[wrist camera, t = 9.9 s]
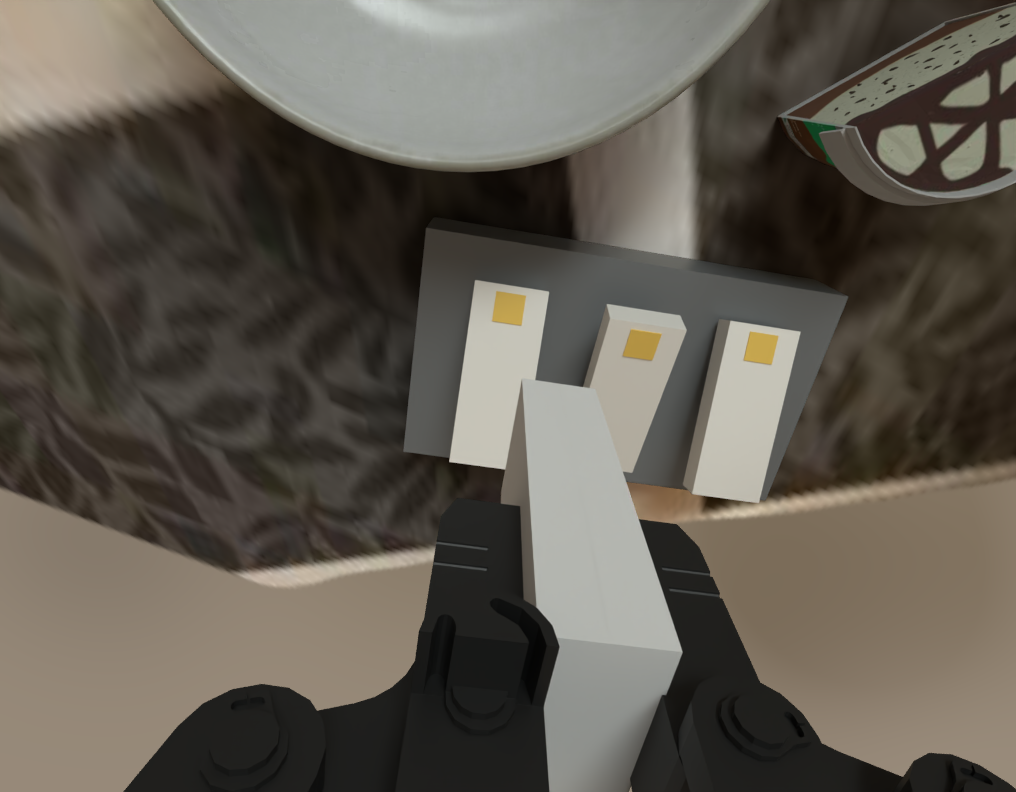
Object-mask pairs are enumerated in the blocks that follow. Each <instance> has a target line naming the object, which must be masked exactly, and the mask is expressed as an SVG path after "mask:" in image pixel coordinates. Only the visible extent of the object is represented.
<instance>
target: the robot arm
mask: <svg viewBox="0 0 1016 792" xmlns="http://www.w3.org/2000/svg"><path fill="white" fill-rule="evenodd" d="M719 594H720V593H719V590H718V588H717V586H716V584H715V581H714V579H713V577H710V571H709V568H708V566H707V564H706V562H705V559H704V557H703V555H702V553H701V550H700V548H699V547H698V546H697V545H696V544H695V542H694V541H693V540H692V539H690V537H689V536H688V535H687V534H686V533H685V532H684V531H683V530H682V529H681V528H680V527H679V526H678V525H677V524H670V523H662V522H655V521H647V520H640V519H638V516H637V513H636V510H635V507H634V504H633V501H632V498H631V495H630V492H629V489H628V486H627V483H626V480H625V477H624V474H623V471H622V468H621V465H620V462H619V459H618V456H617V453H616V450H615V447H614V444H613V441H612V438H611V435H610V432H609V429H608V426H607V423H606V420H605V417H604V414H603V411H602V408H601V405H600V402H599V399H598V396H597V393H596V390H595V389H592V388H586V387H579V386H572V385H565V384H558V383H551V382H544V381H538V380H531V379H524V378H522V381H521V387H520V392H519V398H518V403H517V408H516V414H515V419H514V425H513V430H512V436H511V441H510V446H509V452H508V457H507V463H506V468H505V474H504V479H503V484H502V490H501V504H500V503H493V502H485V501H477V500H470V499H462V498H457V499H456V500H455V501H454V502H453V503H452V504H451V506H450V507H449V508H448V509H447V510H446V511H445V512H444V513H443V514H442V516H441V519H440V525H439V531H438V537H437V544H436V549H435V556H434V562H433V568H432V575H431V580H430V586H429V593H428V599H427V605H426V611H425V618H424V621H423V623H422V626H421V628H420V630H419V635H418V643H417V650H416V658H415V662H414V663H413V665H412V666H411V668H410V669H409V671H408V673H407V674H406V675H405V676H404V677H403V678H402V679H401V680H400V681H399V682H398V683H396V684H395V685H394V686H393V687H392V688H390V689H388V690H387V691H385V692H383V693H381V694H379V695H378V696H376V697H374V698H371V699H367V700H364V701H361V702H357V703H354V704H349V705H344V706H339V707H334V708H329V709H324V710H319V711H317V710H316V709H315V707H314V706H313V704H312V703H311V701H310V700H308V699H307V698H305V697H303V696H301V695H300V694H298V693H296V692H295V691H293V690H291V689H290V688H286V687H279V686H272V685H265V684H259V685H254V686H248V687H243V688H237V689H232V690H230V691H228V692H226V693H224V694H222V695H220V696H218V697H216V698H214V699H212V700H210V701H207V702H205V703H203V704H202V705H201V706H200V707H199V708H198V709H196V711H194V712H193V713H192V714H191V715H190V716H189V717H188V718H187V719H185V720H184V721H183V722H182V723H181V724H180V725H179V726H178V727H177V728H176V729H175V730H174V731H173V733H172V734H171V735H170V736H169V737H168V739H167V740H166V741H165V742H164V744H163V745H162V746H161V747H160V748H159V750H158V751H157V752H156V753H155V754H154V756H153V757H152V758H151V759H150V760H149V762H148V763H147V764H146V765H145V766H144V768H143V769H142V770H141V771H140V772H139V774H138V775H137V776H136V777H135V778H134V780H133V781H132V782H131V783H130V784H129V786H128V787H127V788H126V789H125V790H124V792H629V790H630V787H632V792H1016V789H1015V788H1014V787H1013V786H1011V785H1010V784H1009V783H1007V782H1005V781H1004V780H1002V779H1001V778H999V777H998V776H996V775H994V774H993V773H991V772H990V771H988V770H986V769H985V768H983V767H982V766H980V765H978V764H975V763H972V762H970V761H967V760H965V759H962V758H959V757H957V756H954V755H951V754H936V753H928V754H926V755H924V756H923V757H921V758H919V759H917V760H915V761H914V762H913V763H912V765H911V766H910V768H909V769H908V771H907V772H906V774H905V775H904V777H901V776H899V775H896V774H894V773H891V772H889V771H886V770H884V769H881V768H879V767H876V766H873V765H871V764H869V763H866V762H864V761H861V760H859V759H856V758H854V757H851V756H848V755H846V754H843V753H841V752H838V751H836V750H834V749H832V748H830V747H828V746H826V745H824V744H822V743H821V741H820V739H819V737H818V735H817V734H816V733H815V731H814V730H813V728H812V727H811V726H810V724H809V722H808V721H807V719H806V718H805V716H804V715H803V714H802V713H801V712H800V711H799V710H798V709H797V708H796V707H795V706H794V705H792V704H791V703H790V702H789V701H788V700H787V699H786V698H785V697H784V696H782V695H781V694H780V693H778V692H776V691H774V690H773V689H771V688H769V687H767V686H766V685H764V684H762V683H760V681H759V679H758V677H757V674H756V672H755V670H754V668H753V666H752V664H751V661H750V659H749V657H748V655H747V652H746V650H745V648H744V646H743V643H742V641H741V639H740V637H739V635H738V632H737V630H736V628H735V626H734V624H733V621H732V619H731V617H730V615H729V612H728V610H727V608H726V606H725V604H724V601H723V599H721V598H720V597H719Z"/></svg>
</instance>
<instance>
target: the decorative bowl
mask: <svg viewBox="0 0 1016 792" xmlns="http://www.w3.org/2000/svg"><path fill="white" fill-rule="evenodd" d="M769 1H770V0H153V2H154V3H155V4H156V5H157V7H158V8H159V9H160V10H161V11H162V13H163V14H164V15H165V16H166V17H167V18H168V19H169V20H170V22H171V23H172V24H173V25H174V26H175V27H176V28H177V29H178V31H179V32H180V33H181V34H182V35H183V36H184V37H185V38H186V39H187V40H188V41H189V42H190V43H191V44H192V45H193V46H194V47H195V48H196V49H197V50H198V51H199V52H200V53H201V54H202V55H203V56H204V57H205V58H206V59H207V60H208V61H209V62H210V63H211V64H212V65H214V66H215V67H216V68H217V69H218V70H219V71H220V72H222V73H223V74H224V75H225V76H226V77H227V78H229V79H230V80H231V81H232V82H233V83H234V84H236V85H237V86H238V87H240V88H241V89H242V90H244V91H245V92H246V93H248V94H249V95H250V96H251V97H253V98H254V99H255V100H257V101H258V102H260V103H261V104H263V105H264V106H266V107H267V108H269V109H270V110H272V111H273V112H275V113H276V114H278V115H279V116H281V117H282V118H284V119H286V120H287V121H289V122H291V123H293V124H295V125H296V126H298V127H300V128H302V129H304V130H305V131H307V132H309V133H311V134H313V135H315V136H317V137H319V138H322V139H324V140H326V141H328V142H330V143H332V144H334V145H337V146H339V147H342V148H345V149H347V150H350V151H353V152H355V153H358V154H361V155H364V156H367V157H371V158H374V159H378V160H381V161H385V162H388V163H392V164H397V165H402V166H407V167H412V168H418V169H427V170H435V171H447V172H485V171H499V170H507V169H514V168H522V167H526V166H531V165H535V164H540V163H544V162H549V161H552V160H555V159H558V158H562V157H565V156H568V155H571V154H574V153H577V152H580V151H582V150H585V149H587V148H590V147H592V146H595V145H597V144H600V143H602V142H604V141H606V140H608V139H610V138H612V137H614V136H616V135H618V134H620V133H622V132H624V131H626V130H627V129H629V128H631V127H632V126H634V125H636V124H638V123H639V122H641V121H643V120H644V119H646V118H648V117H649V116H651V115H652V114H654V113H655V112H657V111H658V110H659V109H661V108H662V107H664V106H665V105H666V104H668V103H669V102H671V101H672V100H674V99H675V98H676V97H677V96H679V95H680V94H681V93H682V92H684V91H685V90H686V89H687V88H688V87H690V86H691V85H692V84H693V83H695V82H696V81H697V80H698V79H699V78H700V77H701V76H703V75H704V74H705V73H706V72H707V71H708V70H709V69H710V68H711V67H712V66H713V65H714V64H715V63H716V62H717V61H718V60H720V59H721V58H722V57H723V55H724V54H725V53H726V52H727V51H728V50H729V49H730V48H731V47H732V46H733V45H734V44H735V43H736V41H737V40H738V39H739V38H740V37H741V36H742V35H743V34H744V33H745V32H746V30H747V29H748V28H749V27H750V25H751V24H752V23H753V22H754V20H755V19H756V18H757V17H758V16H759V14H760V13H761V12H762V11H763V9H764V8H765V7H766V6H767V4H768V3H769Z"/></svg>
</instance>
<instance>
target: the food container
mask: <svg viewBox="0 0 1016 792" xmlns="http://www.w3.org/2000/svg"><path fill="white" fill-rule="evenodd" d="M777 118H778V120H779V122H780V125H781V127H782V129H783V131H784V133H785V135H786V136H787V138H788V139H789V140H790V141H791V142H792V143H793V144H794V145H795V146H796V147H797V148H798V149H799V150H800V152H801V153H802V154H804V155H806V156H808V157H811V158H813V159H815V160H817V161H819V162H821V163H823V164H826V165H829V166H832V167H834V168H837V169H838V170H839V171H840V172H841V173H842V174H843V175H844V176H845V177H846V178H847V179H848V180H849V181H850V182H851V183H852V184H854V185H855V186H856V187H858V188H859V189H861V190H862V191H864V192H865V193H867V194H869V195H871V196H874V197H876V198H878V199H881V200H883V201H886V202H891V203H896V204H900V205H911V206H928V205H936V204H944V203H952V202H960V201H967V200H970V199H974V198H978V197H982V196H985V195H988V194H991V193H993V192H996V191H998V190H1000V189H1003V188H1005V187H1007V186H1010V185H1011V184H1014V183H1016V2H1015V3H1011V4H1007V5H1004V6H1000V7H996V8H992V9H989V10H985V11H981V12H978V13H974V14H970V15H967V16H963V17H959V18H956V19H952V20H948V21H945V22H943V23H942V24H940V25H938V26H936V27H935V28H933V29H931V30H929V31H927V32H926V33H924V34H922V35H920V36H919V37H917V38H915V39H913V40H912V41H910V42H908V43H906V44H904V45H903V46H901V47H899V48H897V49H896V50H894V51H892V52H890V53H889V54H887V55H885V56H883V57H881V58H880V59H878V60H876V61H874V62H873V63H871V64H869V65H867V66H866V67H864V68H862V69H860V70H858V71H857V72H855V73H853V74H851V75H850V76H848V77H846V78H844V79H843V80H841V81H839V82H837V83H835V84H834V85H832V86H830V87H828V88H827V89H825V90H823V91H821V92H820V93H818V94H816V95H814V96H812V97H811V98H809V99H807V100H805V101H804V102H802V103H800V104H798V105H797V106H795V107H793V108H791V109H789V110H788V111H786V112H784V113H782V114H781V115H779V116H777Z"/></svg>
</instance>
